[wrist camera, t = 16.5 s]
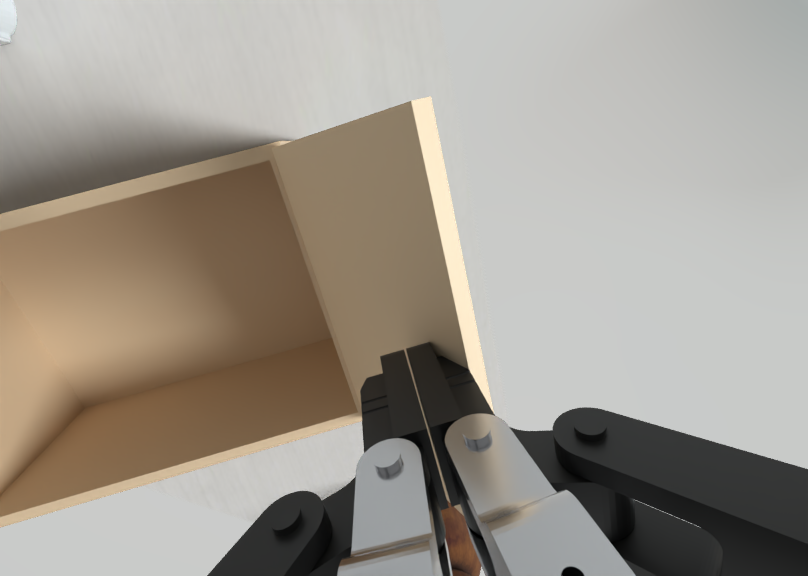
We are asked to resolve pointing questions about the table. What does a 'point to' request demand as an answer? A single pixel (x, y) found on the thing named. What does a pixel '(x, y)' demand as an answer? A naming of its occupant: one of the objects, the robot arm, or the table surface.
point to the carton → (159, 333)
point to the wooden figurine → (460, 544)
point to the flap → (384, 240)
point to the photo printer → (7, 20)
